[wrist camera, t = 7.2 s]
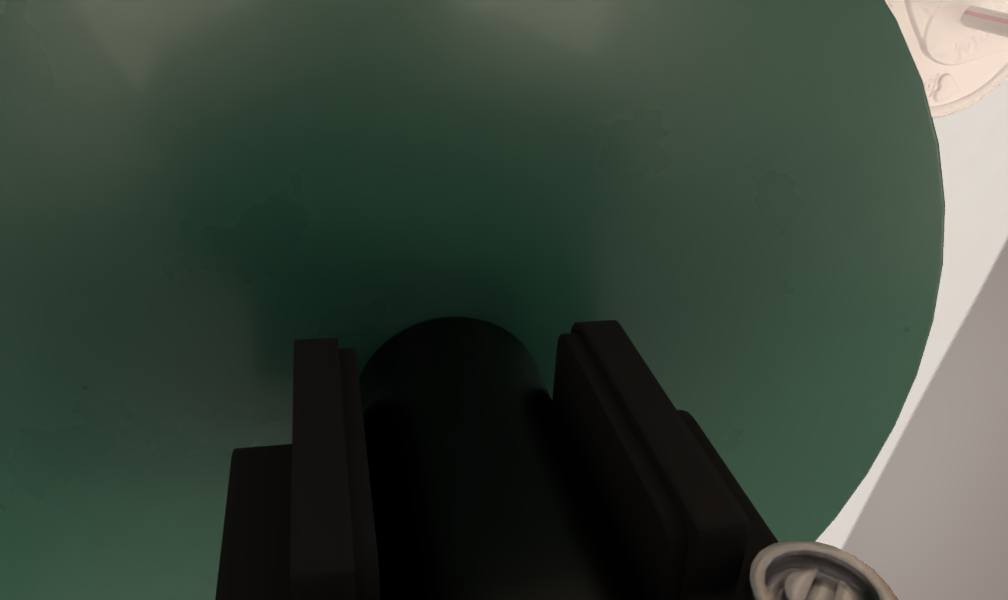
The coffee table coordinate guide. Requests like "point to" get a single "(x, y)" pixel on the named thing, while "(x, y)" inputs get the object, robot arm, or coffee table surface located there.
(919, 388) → the coffee table surface
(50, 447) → the lid
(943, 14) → the smoothie
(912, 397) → the coffee table surface
